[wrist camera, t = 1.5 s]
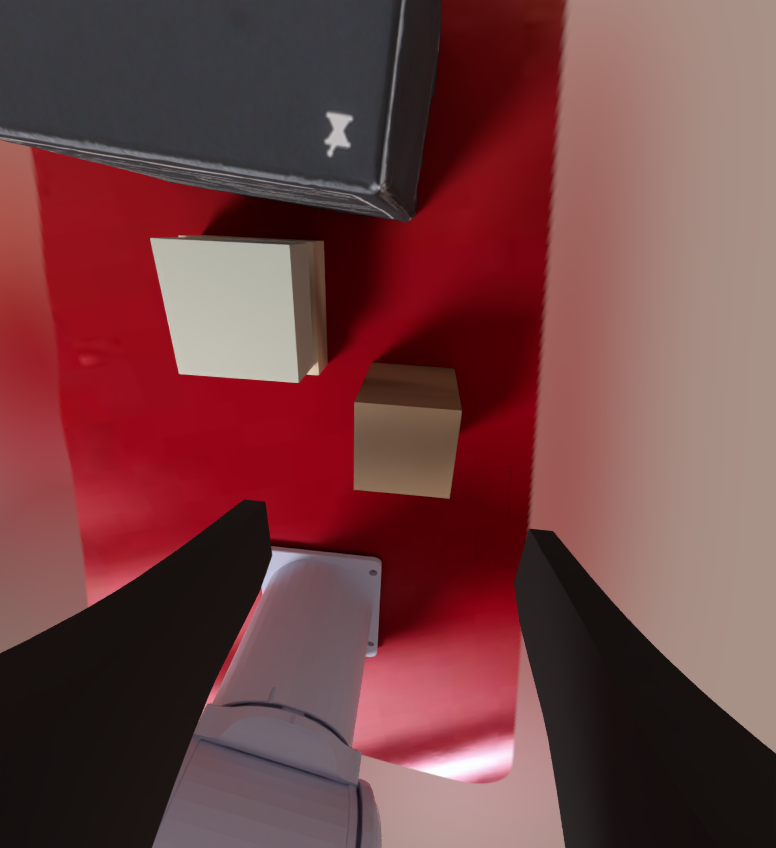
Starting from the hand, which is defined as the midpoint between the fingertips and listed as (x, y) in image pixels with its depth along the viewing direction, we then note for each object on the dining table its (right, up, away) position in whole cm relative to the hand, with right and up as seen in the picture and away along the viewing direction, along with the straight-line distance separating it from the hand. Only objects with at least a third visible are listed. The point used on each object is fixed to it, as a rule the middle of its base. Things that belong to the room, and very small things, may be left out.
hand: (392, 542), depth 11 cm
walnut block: (+1, +4, +9) cm, 10 cm away
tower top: (-6, +8, +6) cm, 12 cm away
